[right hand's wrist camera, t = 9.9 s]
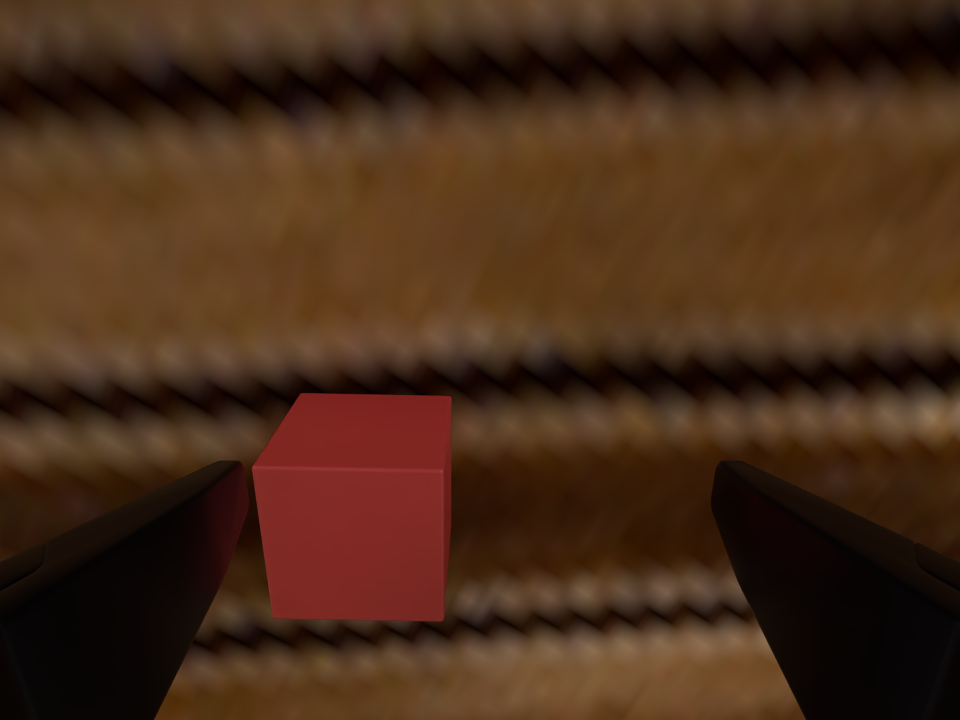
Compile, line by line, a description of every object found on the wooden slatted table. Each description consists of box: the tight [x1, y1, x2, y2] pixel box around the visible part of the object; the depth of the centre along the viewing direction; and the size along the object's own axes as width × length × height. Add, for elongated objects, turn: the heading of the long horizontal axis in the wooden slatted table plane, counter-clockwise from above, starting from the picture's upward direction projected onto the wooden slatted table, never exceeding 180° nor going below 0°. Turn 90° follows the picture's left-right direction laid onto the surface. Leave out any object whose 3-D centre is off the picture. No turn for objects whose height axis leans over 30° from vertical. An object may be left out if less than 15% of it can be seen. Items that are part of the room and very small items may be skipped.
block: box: [252, 393, 452, 621], centre depth 16 cm, size 4×4×4 cm
